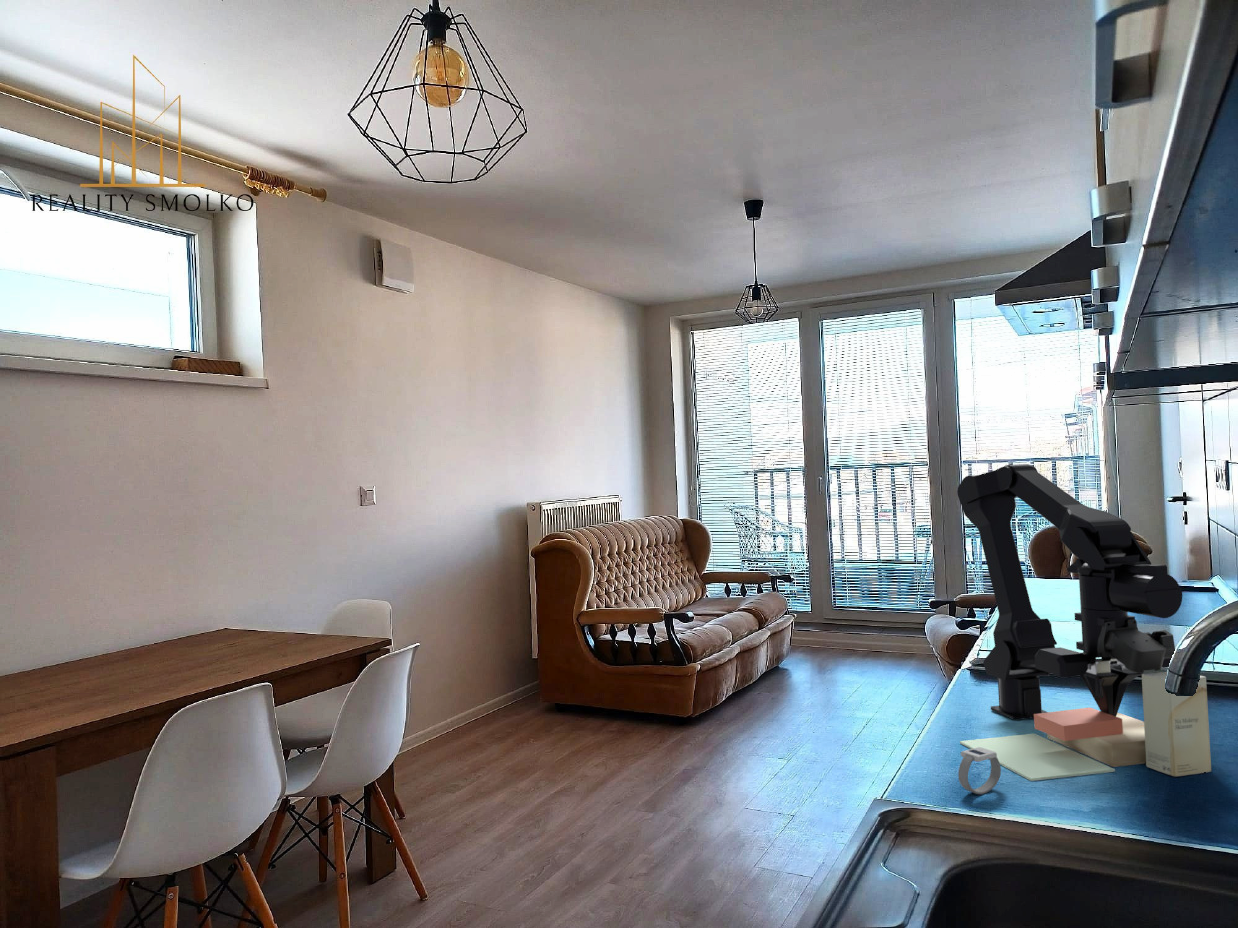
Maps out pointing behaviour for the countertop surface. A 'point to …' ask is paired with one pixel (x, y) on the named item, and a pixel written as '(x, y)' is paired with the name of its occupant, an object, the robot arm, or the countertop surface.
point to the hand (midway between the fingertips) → (1109, 719)
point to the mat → (1038, 757)
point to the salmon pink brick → (1078, 724)
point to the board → (1114, 744)
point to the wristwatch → (979, 755)
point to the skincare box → (1175, 728)
